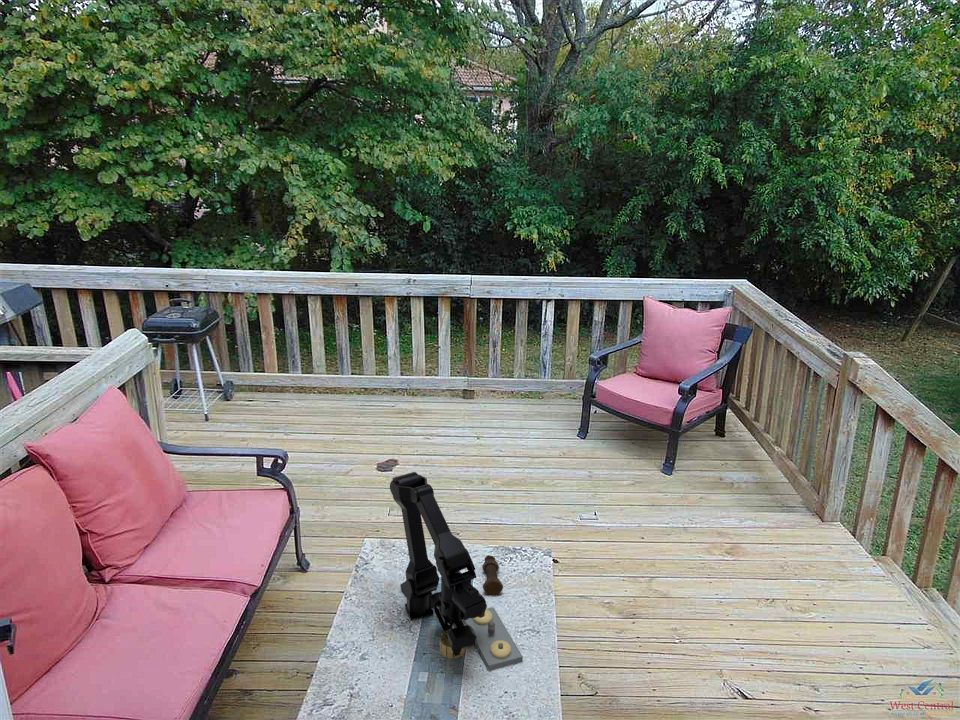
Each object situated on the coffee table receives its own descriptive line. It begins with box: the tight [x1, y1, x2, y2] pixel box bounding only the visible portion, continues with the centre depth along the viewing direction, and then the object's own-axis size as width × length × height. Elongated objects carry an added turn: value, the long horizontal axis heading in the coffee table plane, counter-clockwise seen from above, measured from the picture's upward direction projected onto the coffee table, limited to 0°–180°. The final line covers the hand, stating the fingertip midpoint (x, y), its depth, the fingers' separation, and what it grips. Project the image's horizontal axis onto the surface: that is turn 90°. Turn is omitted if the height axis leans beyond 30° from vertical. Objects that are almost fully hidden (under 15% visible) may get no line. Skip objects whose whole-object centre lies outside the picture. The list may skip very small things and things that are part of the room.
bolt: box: [482, 555, 504, 597], centre depth 192 cm, size 6×5×15 cm
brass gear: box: [439, 629, 467, 660], centre depth 165 cm, size 6×6×4 cm
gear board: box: [462, 606, 524, 672], centre depth 168 cm, size 9×20×6 cm, turn 21°
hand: (452, 645), depth 165 cm, fingers closed on brass gear, 6 cm apart
